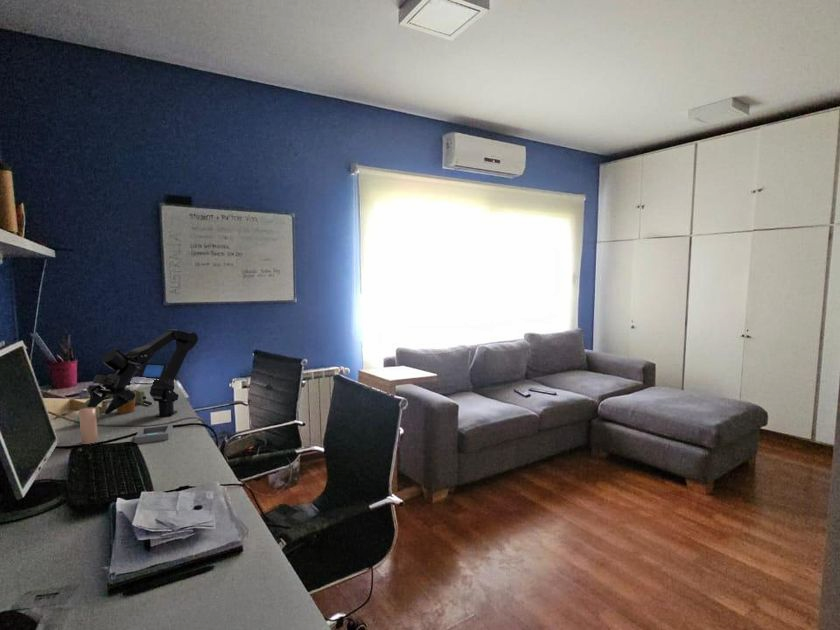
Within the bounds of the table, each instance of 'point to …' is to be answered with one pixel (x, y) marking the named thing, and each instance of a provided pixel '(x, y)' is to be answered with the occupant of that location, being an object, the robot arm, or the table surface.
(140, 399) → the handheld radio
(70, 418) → the table surface
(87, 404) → the decorative egg
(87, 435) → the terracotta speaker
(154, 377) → the handheld game console
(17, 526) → the table surface
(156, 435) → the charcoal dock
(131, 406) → the disposable coffee cup
